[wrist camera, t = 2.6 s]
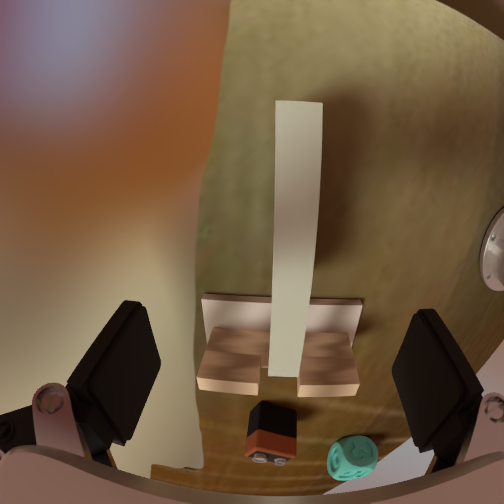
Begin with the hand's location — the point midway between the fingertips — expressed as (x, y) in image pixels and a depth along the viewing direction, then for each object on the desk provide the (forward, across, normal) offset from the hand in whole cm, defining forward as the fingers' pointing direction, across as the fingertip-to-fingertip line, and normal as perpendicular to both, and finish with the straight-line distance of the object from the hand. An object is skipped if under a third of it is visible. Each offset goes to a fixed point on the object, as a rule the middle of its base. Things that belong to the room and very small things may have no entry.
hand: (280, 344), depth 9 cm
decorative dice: (+19, -18, +49) cm, 55 cm away
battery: (+20, -1, +34) cm, 40 cm away
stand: (+19, -1, +16) cm, 25 cm away
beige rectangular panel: (+19, -1, 0) cm, 19 cm away
